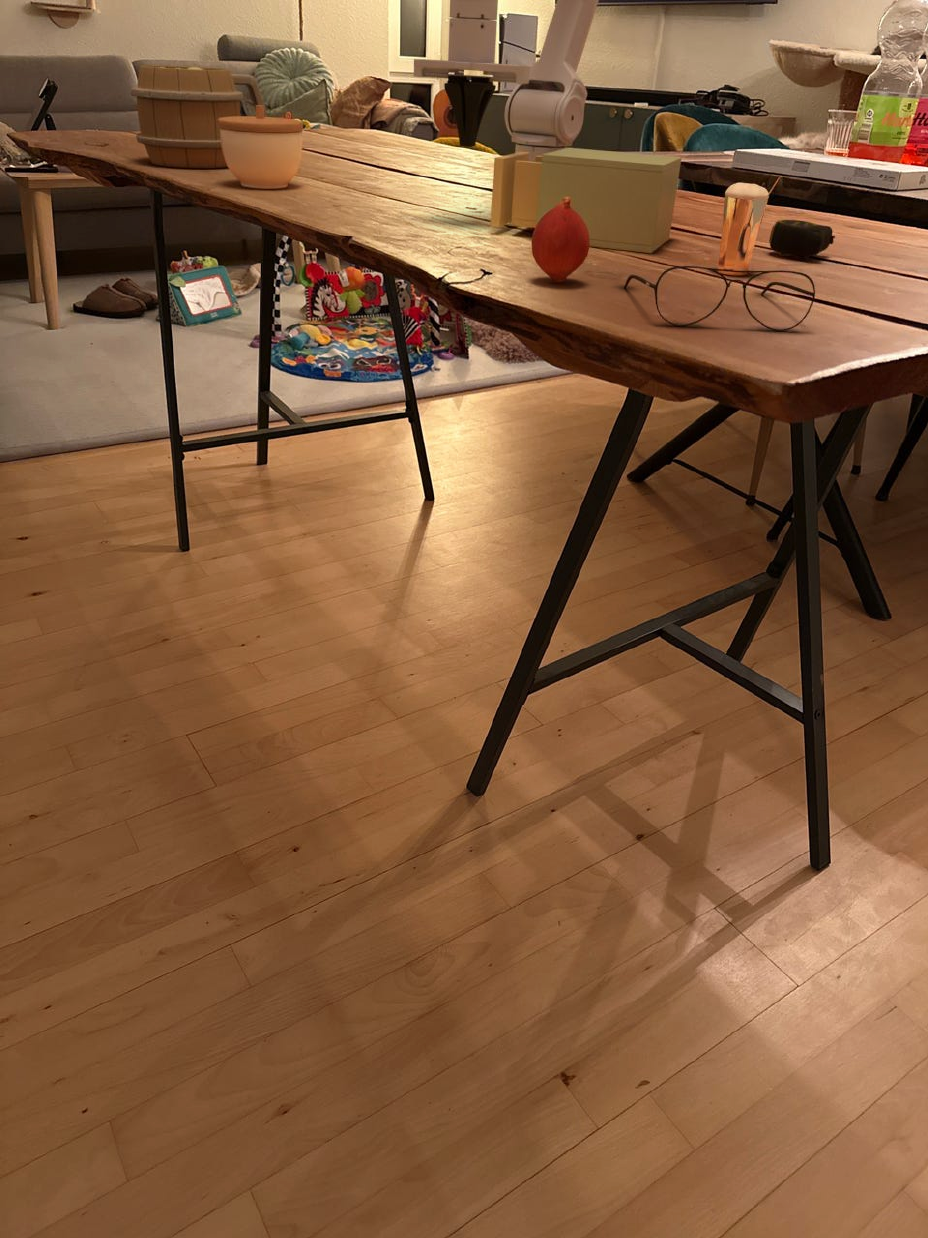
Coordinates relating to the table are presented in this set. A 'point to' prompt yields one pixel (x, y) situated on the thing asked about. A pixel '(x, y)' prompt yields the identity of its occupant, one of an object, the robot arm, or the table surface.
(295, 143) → the lidded bowl
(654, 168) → the cabinet
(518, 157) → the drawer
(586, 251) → the onion
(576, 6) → the robot arm
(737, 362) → the table surface
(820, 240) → the tape measure
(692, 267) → the glasses
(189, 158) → the mug
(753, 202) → the milkshake
